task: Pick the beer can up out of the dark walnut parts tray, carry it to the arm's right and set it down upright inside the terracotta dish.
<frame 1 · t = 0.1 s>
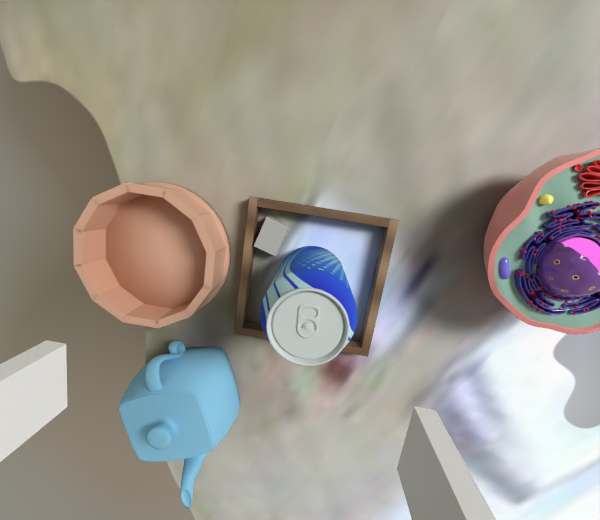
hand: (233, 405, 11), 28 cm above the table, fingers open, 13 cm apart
stone a: (274, 234, 38), resting in tray
teapot: (203, 384, 43), on the table
cell model: (532, 232, 36), on the table
tray: (311, 276, 38), on the table
beer can: (311, 275, 38), resting in tray
dish: (165, 251, 39), on the table
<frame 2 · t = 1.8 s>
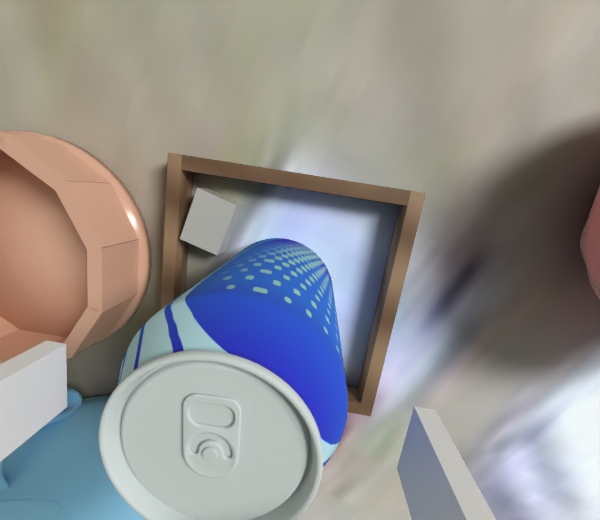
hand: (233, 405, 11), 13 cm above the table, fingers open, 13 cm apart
stone a: (218, 219, 23), resting in tray
teapot: (124, 445, 29), on the table
tray: (280, 286, 24), on the table
beer can: (281, 285, 24), resting in tray
dish: (48, 247, 24), on the table
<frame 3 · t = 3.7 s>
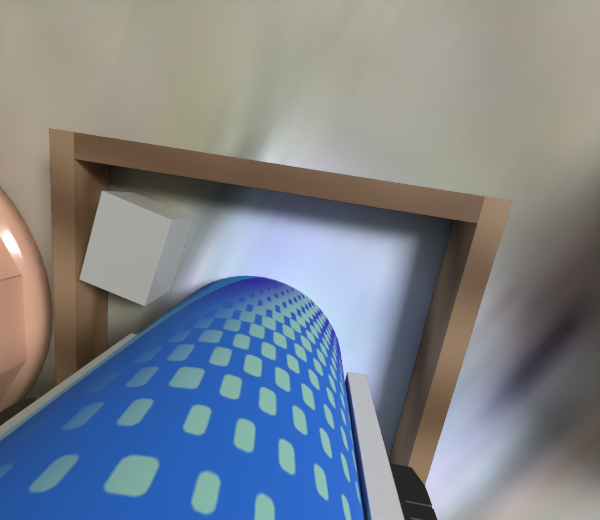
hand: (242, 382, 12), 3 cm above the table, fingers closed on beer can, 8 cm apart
stone a: (155, 242, 14), resting in tray
tray: (257, 349, 15), on the table
beer can: (258, 345, 15), resting in tray, touching gripper
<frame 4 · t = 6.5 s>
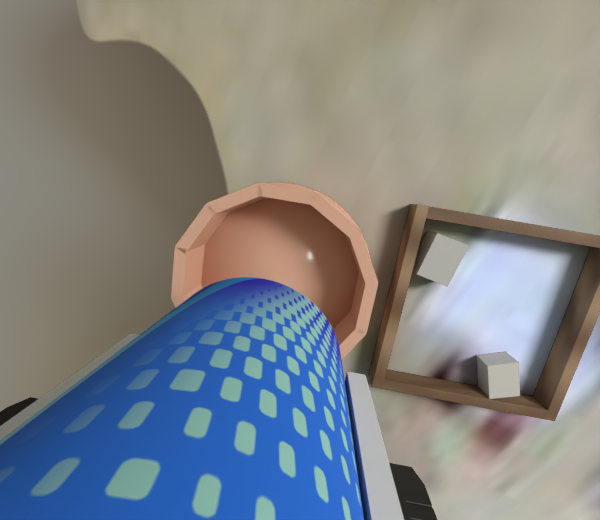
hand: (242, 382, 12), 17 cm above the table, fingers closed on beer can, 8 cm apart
stone a: (431, 255, 28), resting in tray
tray: (478, 311, 28), on the table
beer can: (258, 346, 15), point 14 cm above the table, touching gripper
stone b: (490, 368, 30), resting in tray
dish: (279, 275, 29), on the table
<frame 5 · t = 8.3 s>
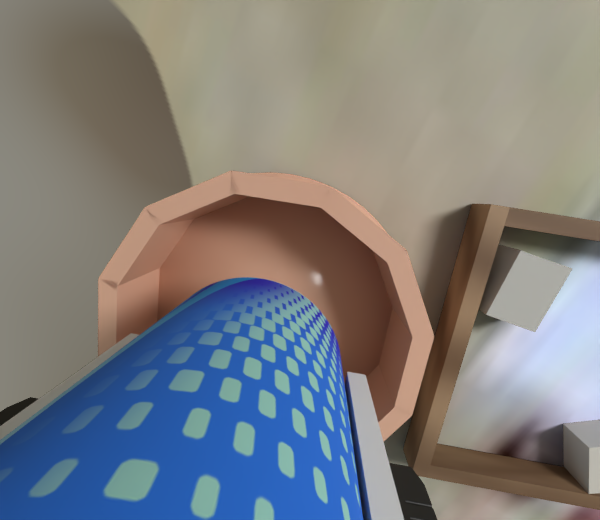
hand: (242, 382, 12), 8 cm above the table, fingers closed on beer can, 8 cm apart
stone a: (501, 280, 18), resting in tray
tray: (570, 362, 19), on the table
beer can: (257, 347, 15), point 5 cm above the table, touching gripper
stone b: (582, 440, 20), resting in tray
dish: (272, 310, 20), on the table
when the fingers open (6 cm above the table, at t = 9.6 s): beer can drops 2 cm, resting on dish.
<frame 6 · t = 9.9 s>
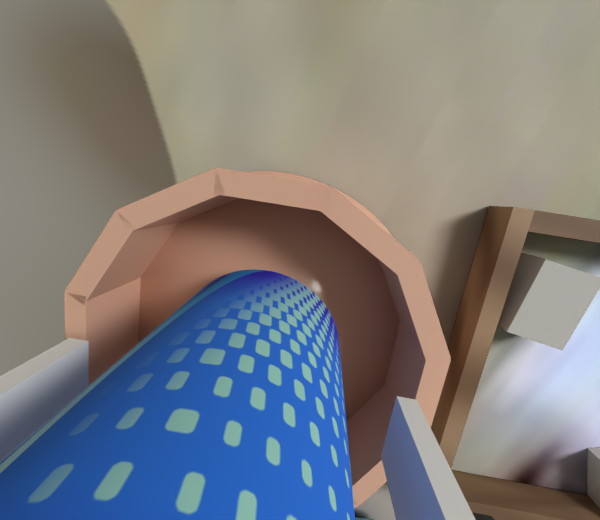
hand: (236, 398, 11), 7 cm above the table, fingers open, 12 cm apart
stone a: (521, 291, 17), resting in tray
tray: (596, 381, 17), on the table
beer can: (265, 330, 17), point 1 cm above the table, touching dish
dish: (267, 324, 18), on the table
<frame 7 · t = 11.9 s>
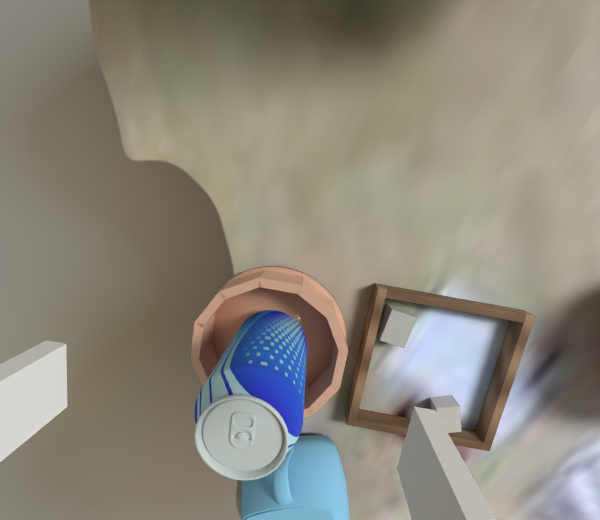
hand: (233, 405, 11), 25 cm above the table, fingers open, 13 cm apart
stone a: (392, 321, 36), resting in tray
teapot: (300, 470, 40), on the table
tray: (429, 364, 36), on the table
beer can: (273, 338, 36), point 1 cm above the table, touching dish
stone b: (441, 407, 38), resting in tray
dish: (273, 335, 37), on the table
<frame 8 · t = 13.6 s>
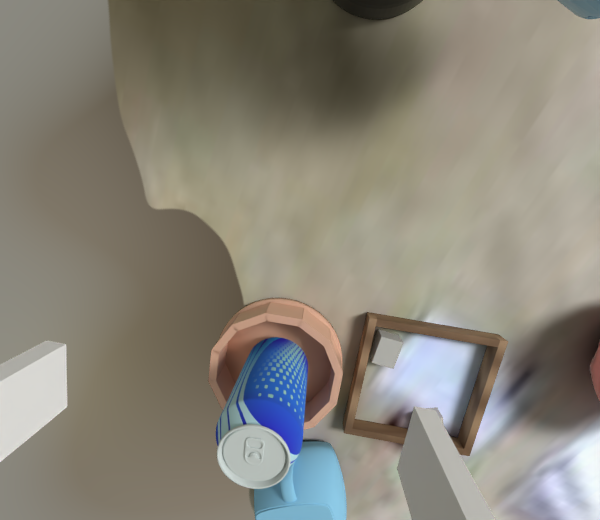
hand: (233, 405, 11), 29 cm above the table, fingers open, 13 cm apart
stone a: (383, 344, 41), resting in tray
teapot: (304, 470, 46), on the table
tray: (416, 380, 41), on the table
beer can: (279, 359, 41), point 1 cm above the table, touching dish
dish: (279, 356, 42), on the table
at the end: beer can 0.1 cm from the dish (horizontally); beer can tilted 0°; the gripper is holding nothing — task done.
